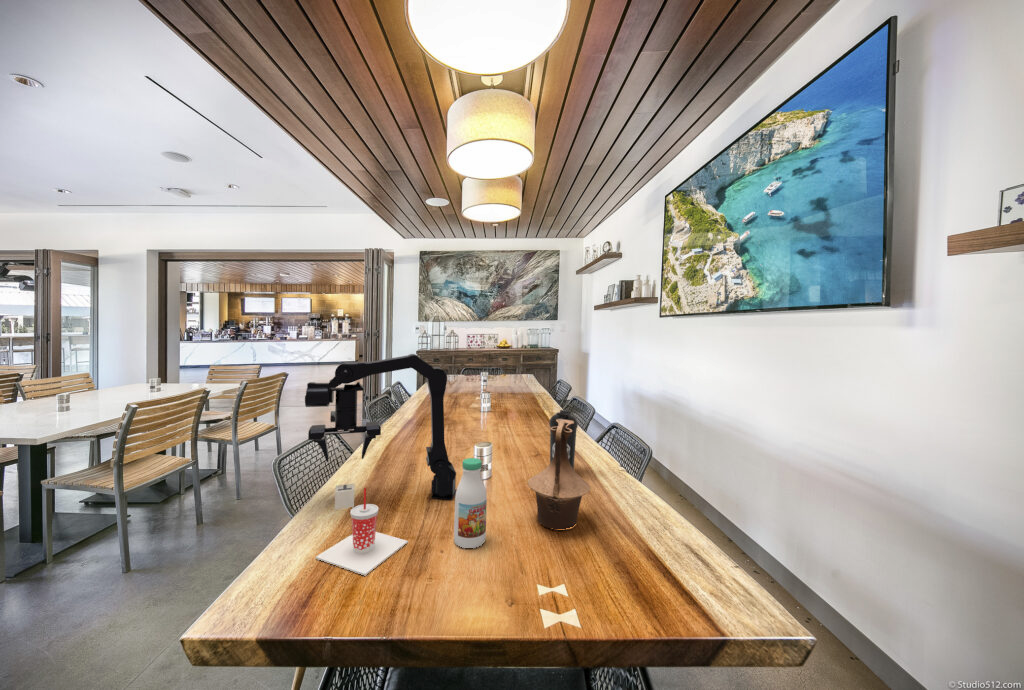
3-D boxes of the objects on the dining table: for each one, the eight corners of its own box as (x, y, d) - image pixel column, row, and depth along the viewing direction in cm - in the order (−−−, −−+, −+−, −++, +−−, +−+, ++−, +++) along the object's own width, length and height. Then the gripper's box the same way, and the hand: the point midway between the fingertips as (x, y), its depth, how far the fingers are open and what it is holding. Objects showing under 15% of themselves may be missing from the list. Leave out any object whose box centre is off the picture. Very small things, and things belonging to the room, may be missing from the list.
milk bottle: (447, 544, 94) (449, 462, 93) (465, 530, 100) (467, 453, 100) (474, 553, 90) (476, 468, 89) (491, 538, 97) (493, 458, 96)
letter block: (354, 500, 116) (354, 483, 115) (353, 507, 111) (354, 489, 111) (335, 502, 114) (335, 485, 114) (334, 509, 109) (335, 491, 109)
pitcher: (588, 543, 96) (593, 431, 95) (520, 533, 99) (524, 425, 98) (588, 511, 113) (592, 415, 112) (531, 504, 117) (534, 411, 116)
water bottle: (544, 477, 138) (547, 413, 138) (550, 467, 148) (552, 407, 147) (573, 481, 136) (576, 415, 135) (577, 471, 145) (579, 410, 144)
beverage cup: (360, 539, 93) (361, 481, 93) (383, 543, 92) (384, 484, 91) (343, 553, 87) (344, 491, 87) (367, 557, 86) (368, 495, 85)
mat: (362, 530, 99) (362, 527, 99) (407, 543, 93) (407, 540, 93) (315, 559, 86) (315, 556, 86) (365, 576, 80) (365, 574, 80)
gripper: (378, 399, 122) (377, 449, 123) (312, 402, 115) (311, 454, 116) (381, 406, 112) (380, 460, 113) (308, 409, 105) (307, 467, 105)
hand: (345, 460), depth 112 cm, fingers open, 9 cm apart
